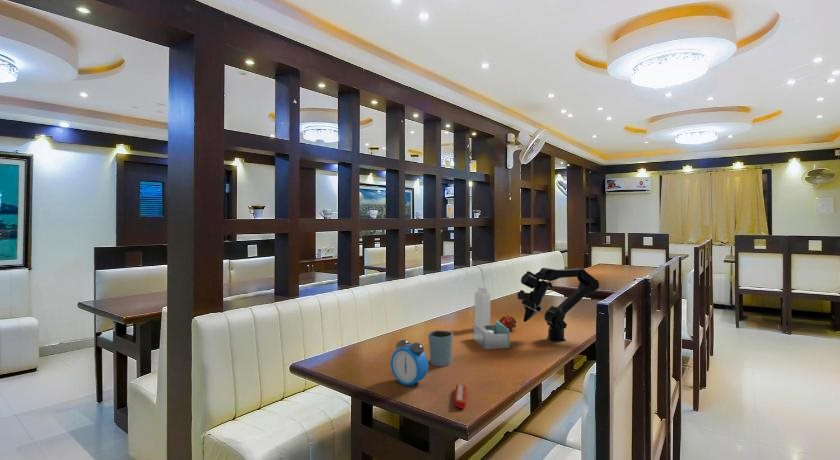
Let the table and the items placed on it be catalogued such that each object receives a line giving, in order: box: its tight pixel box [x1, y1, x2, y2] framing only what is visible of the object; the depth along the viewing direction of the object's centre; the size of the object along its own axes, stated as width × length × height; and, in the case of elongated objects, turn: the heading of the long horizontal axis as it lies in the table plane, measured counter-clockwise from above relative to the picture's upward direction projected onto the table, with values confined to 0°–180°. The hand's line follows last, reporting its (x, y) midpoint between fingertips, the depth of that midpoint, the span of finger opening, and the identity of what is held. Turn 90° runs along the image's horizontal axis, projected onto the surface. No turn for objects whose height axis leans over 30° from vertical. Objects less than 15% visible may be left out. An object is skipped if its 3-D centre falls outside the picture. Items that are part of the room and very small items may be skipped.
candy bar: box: [453, 382, 467, 410], centre depth 133 cm, size 16×4×3 cm, turn 173°
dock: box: [472, 323, 509, 350], centre depth 192 cm, size 11×17×7 cm, turn 8°
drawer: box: [494, 320, 510, 349], centre depth 193 cm, size 11×17×8 cm, turn 8°
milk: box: [474, 287, 491, 325], centre depth 218 cm, size 6×6×22 cm
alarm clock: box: [390, 339, 429, 388], centre depth 146 cm, size 13×6×15 cm, turn 53°
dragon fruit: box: [498, 314, 517, 332], centre depth 215 cm, size 8×8×12 cm
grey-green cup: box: [427, 330, 454, 367], centre depth 167 cm, size 10×10×12 cm
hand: (524, 321), depth 195 cm, fingers closed
